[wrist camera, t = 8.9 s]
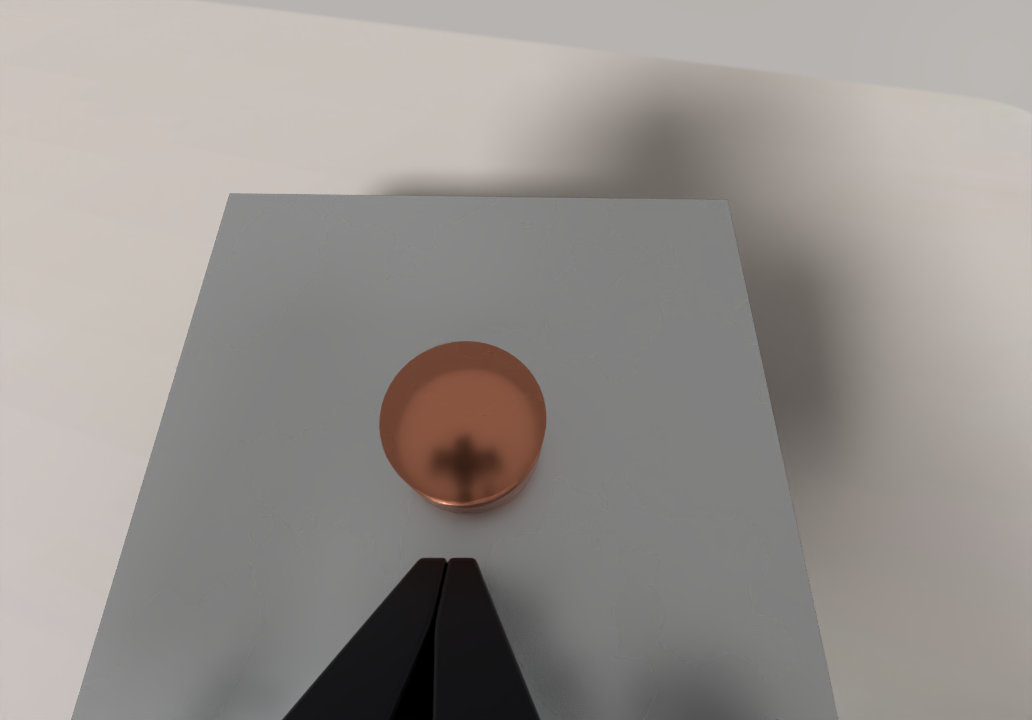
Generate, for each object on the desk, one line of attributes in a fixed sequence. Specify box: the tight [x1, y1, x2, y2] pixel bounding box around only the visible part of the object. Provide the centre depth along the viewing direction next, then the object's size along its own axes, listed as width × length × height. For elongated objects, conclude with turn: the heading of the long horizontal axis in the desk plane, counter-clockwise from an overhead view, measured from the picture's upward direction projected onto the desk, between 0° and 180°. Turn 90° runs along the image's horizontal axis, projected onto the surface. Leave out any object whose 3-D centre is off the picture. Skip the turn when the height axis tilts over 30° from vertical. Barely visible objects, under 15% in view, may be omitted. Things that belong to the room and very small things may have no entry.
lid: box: [71, 193, 838, 720], centre depth 11 cm, size 14×14×3 cm
